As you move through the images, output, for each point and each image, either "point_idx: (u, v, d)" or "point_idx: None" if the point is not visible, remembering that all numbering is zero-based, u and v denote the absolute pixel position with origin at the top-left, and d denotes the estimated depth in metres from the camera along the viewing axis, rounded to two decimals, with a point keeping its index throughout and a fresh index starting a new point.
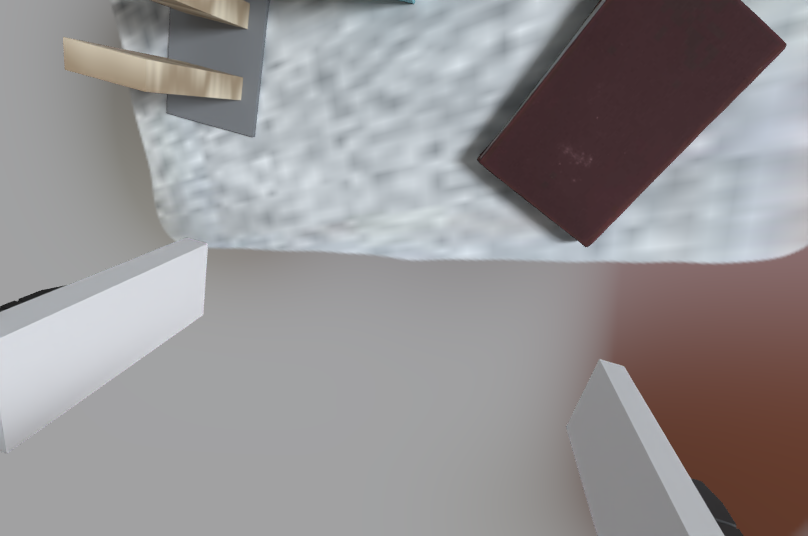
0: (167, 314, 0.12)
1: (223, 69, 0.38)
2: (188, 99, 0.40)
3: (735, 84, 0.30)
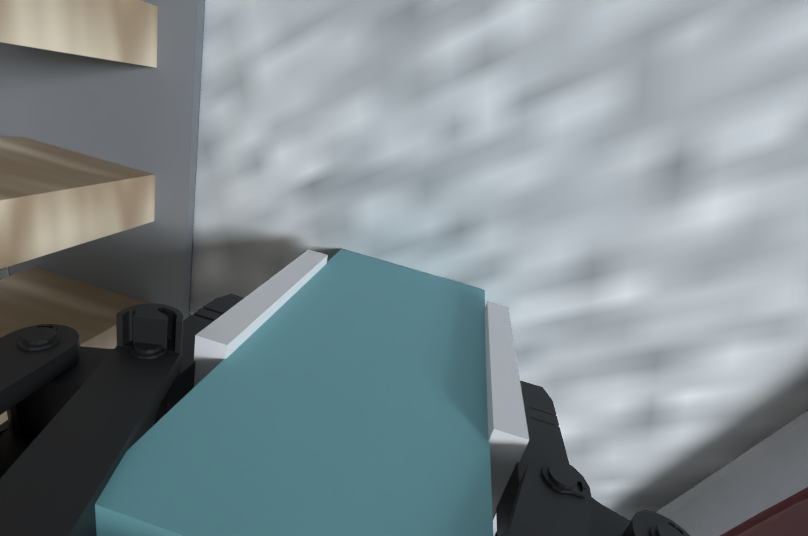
0: None
1: None
2: None
3: None
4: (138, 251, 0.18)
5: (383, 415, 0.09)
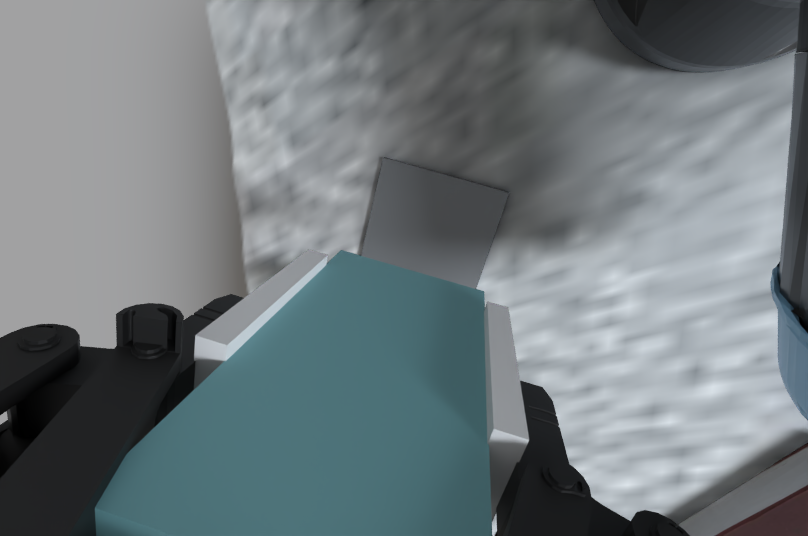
0: None
1: None
2: None
3: None
4: None
5: (383, 418, 0.09)
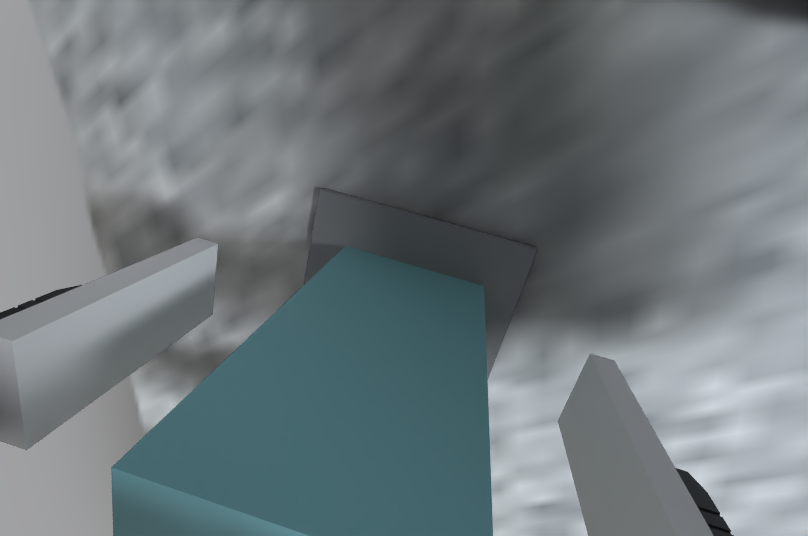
0: (178, 314, 0.13)
1: None
2: None
3: None
4: None
5: (389, 400, 0.09)
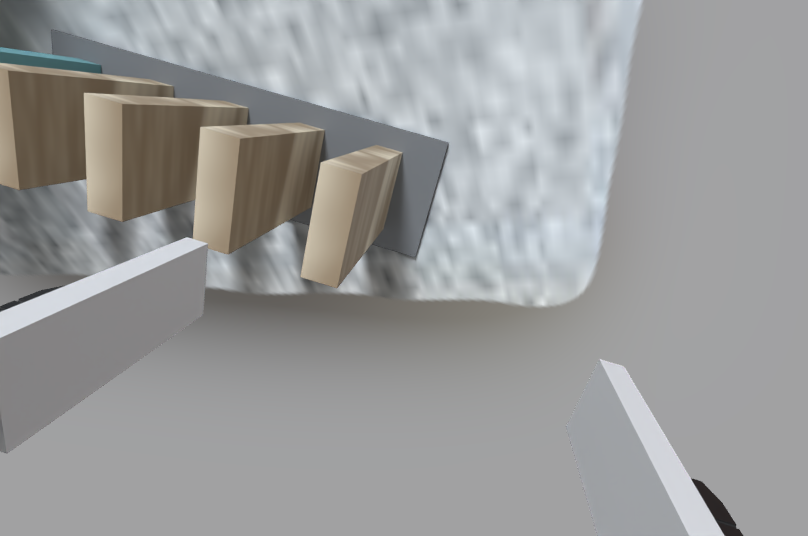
0: (167, 314, 0.12)
1: None
2: (400, 224, 0.32)
3: None
4: (267, 123, 0.31)
5: None
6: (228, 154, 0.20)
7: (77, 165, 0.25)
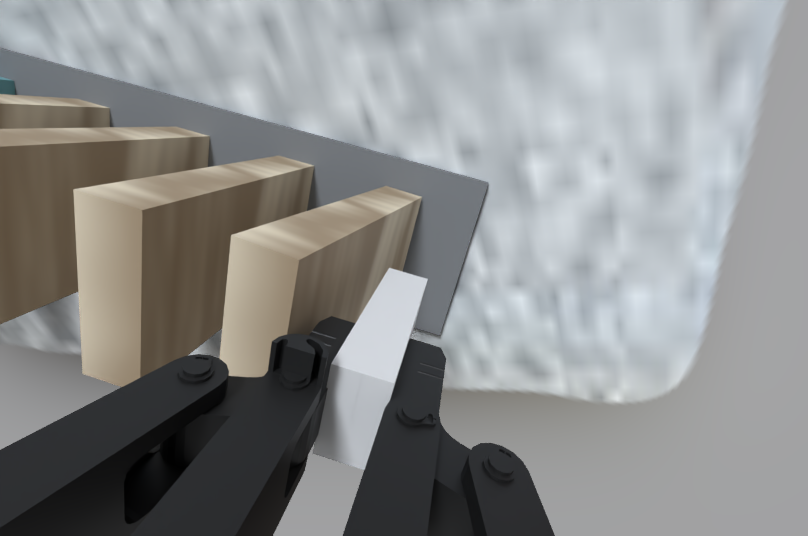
0: None
1: None
2: None
3: None
4: (236, 157, 0.23)
5: None
6: (125, 236, 0.11)
7: None
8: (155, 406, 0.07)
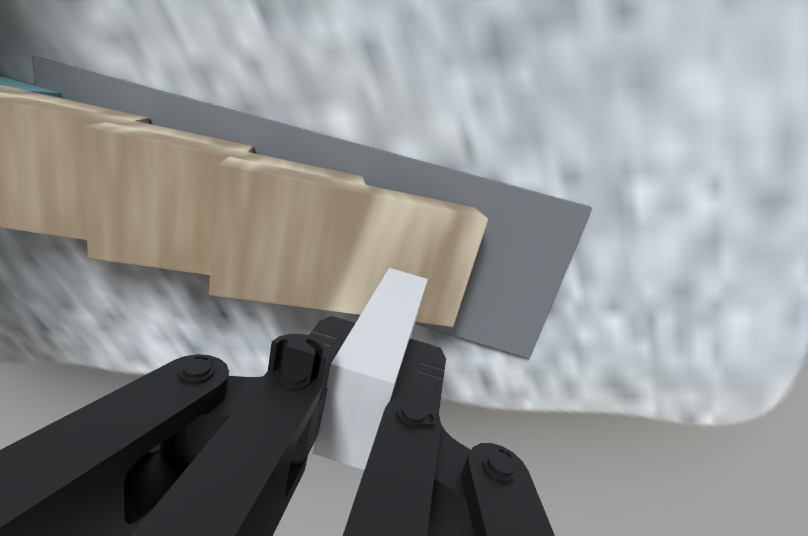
0: None
1: None
2: (511, 316, 0.23)
3: None
4: None
5: None
6: None
7: None
8: (155, 406, 0.07)
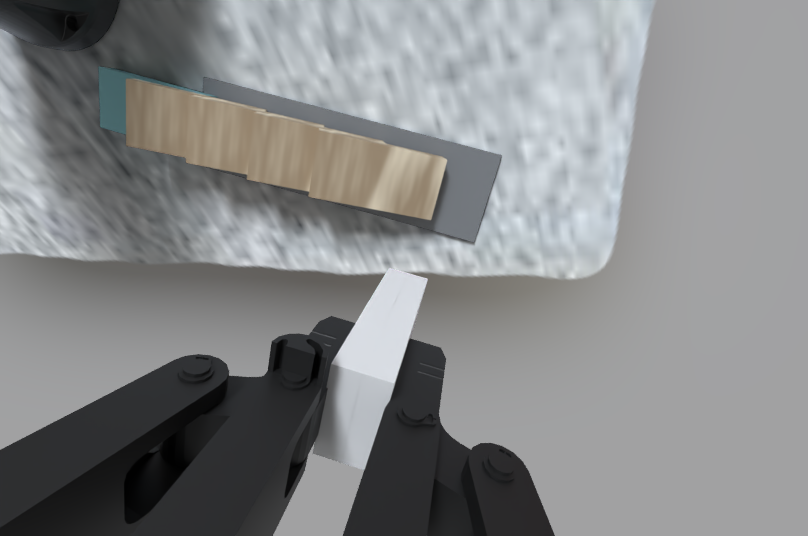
0: None
1: None
2: (463, 217, 0.42)
3: None
4: None
5: None
6: None
7: (167, 144, 0.40)
8: (155, 406, 0.07)
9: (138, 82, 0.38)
